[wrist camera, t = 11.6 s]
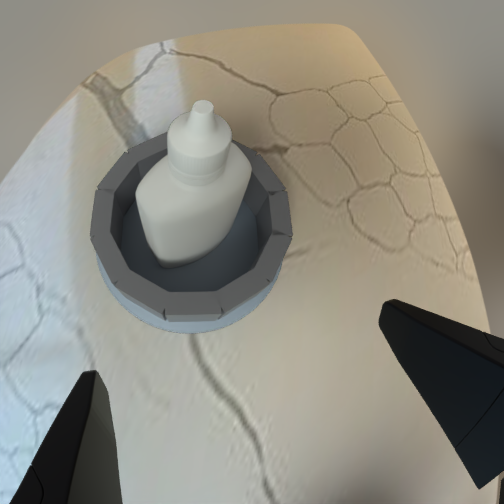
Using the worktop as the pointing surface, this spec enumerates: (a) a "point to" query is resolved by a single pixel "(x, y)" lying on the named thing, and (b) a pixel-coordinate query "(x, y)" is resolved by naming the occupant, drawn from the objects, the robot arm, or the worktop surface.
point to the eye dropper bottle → (193, 188)
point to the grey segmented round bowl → (201, 271)
